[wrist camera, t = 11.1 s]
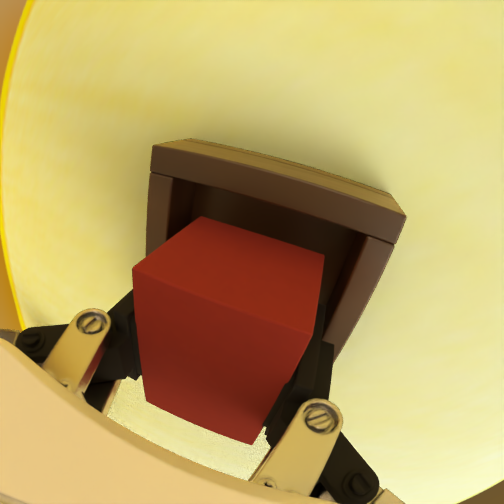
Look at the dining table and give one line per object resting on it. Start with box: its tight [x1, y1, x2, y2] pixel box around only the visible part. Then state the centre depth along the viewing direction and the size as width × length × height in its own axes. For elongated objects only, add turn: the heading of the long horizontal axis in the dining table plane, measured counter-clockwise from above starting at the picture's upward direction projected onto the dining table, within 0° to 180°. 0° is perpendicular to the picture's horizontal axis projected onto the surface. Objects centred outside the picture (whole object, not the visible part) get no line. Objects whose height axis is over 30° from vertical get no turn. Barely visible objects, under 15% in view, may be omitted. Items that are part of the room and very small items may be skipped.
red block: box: [132, 216, 325, 445], centre depth 9 cm, size 6×4×4 cm
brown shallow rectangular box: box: [146, 138, 406, 363], centre depth 12 cm, size 11×8×3 cm
